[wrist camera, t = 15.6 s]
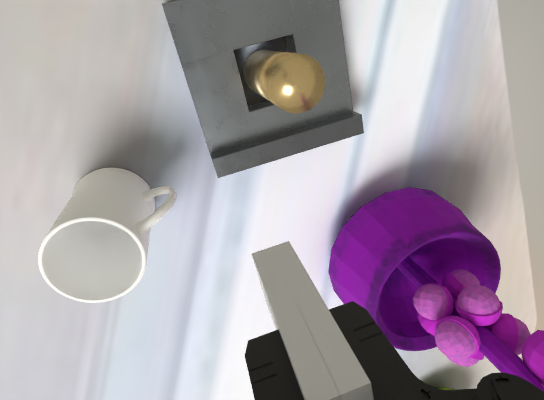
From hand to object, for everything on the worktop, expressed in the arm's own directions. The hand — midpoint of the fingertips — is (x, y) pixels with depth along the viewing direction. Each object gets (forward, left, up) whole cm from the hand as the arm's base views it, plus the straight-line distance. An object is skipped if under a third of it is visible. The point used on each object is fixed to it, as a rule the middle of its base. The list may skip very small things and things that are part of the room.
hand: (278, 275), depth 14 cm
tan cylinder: (-4, +7, -28) cm, 30 cm away
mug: (+5, -11, -29) cm, 31 cm away
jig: (-4, +7, -28) cm, 30 cm away
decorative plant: (+22, +18, -29) cm, 40 cm away
